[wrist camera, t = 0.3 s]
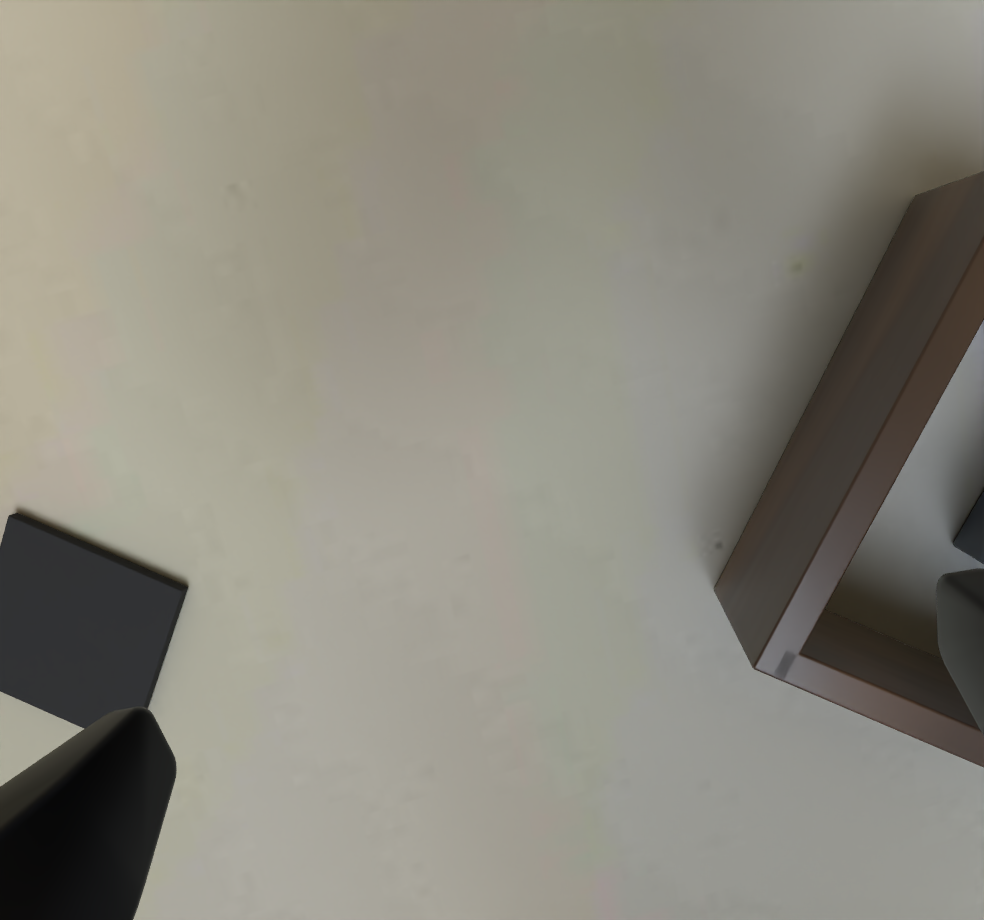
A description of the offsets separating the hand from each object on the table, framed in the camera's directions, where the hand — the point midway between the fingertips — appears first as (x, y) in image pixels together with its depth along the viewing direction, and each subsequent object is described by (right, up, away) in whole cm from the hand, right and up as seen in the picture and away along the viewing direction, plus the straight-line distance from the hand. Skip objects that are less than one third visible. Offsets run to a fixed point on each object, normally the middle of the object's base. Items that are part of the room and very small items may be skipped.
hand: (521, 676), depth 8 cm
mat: (-14, -3, +16) cm, 21 cm away
